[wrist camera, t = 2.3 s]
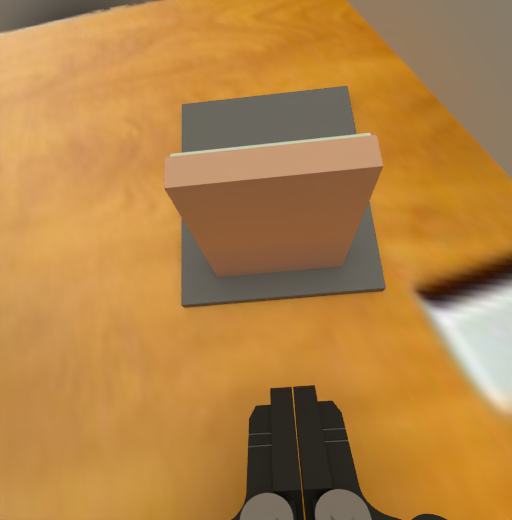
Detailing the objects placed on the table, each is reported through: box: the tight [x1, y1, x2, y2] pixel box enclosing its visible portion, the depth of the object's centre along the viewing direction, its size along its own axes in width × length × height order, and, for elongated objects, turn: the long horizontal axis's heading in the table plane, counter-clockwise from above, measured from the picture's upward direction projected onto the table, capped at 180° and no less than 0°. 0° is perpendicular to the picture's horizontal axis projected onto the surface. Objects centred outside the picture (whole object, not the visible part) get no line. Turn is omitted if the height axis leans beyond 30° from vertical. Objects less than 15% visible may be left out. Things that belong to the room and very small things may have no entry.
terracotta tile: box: [164, 133, 383, 278], centre depth 24 cm, size 2×10×14 cm, turn 94°
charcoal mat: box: [182, 86, 386, 307], centre depth 34 cm, size 20×16×1 cm
